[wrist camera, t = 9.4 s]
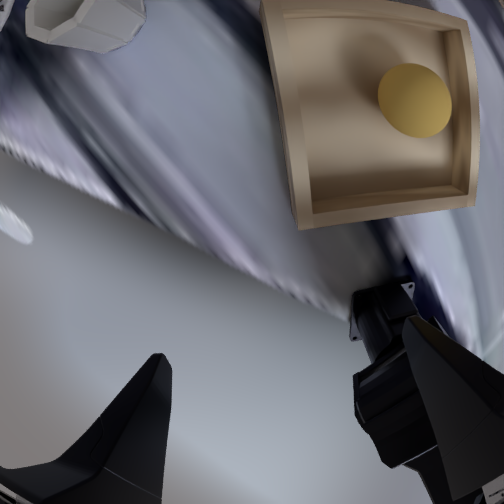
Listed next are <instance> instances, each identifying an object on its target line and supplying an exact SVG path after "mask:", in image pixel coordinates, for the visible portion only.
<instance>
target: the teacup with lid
mask: <svg viewBox="0 0 504 504" xmlns="http://www.w3.org/2000/svg"><path fill="white" fill-rule="evenodd" d="M498 1H499V2H500V4H501V6H502V8H503V9H504V0H498Z"/></svg>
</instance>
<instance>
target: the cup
mask: <svg viewBox="0 0 504 504" xmlns="http://www.w3.org/2000/svg"><path fill="white" fill-rule="evenodd" d="M27 7H29V8H27V9H26V10H25V21H26V34H27V36H28V37H30V38H33V39H36V40H38V41H41V42H43V43H46V44H53V45H60V46H66V47H72V48H78V49H83V50H88V51H93V52H97V53H102V54H103V53H104V54H105V53H108V52H110V51H113V50H116V49H118V48H121V47H122V46H125V45H127V44H128V42H131V41H132V39H133V38H134V37H135V36H136V34H137V33H138V32H139V30H140V29H141V27H142V25H143V24H144V22H145V21H146V20H145V19H146V7H145V4H144V0H30V2H29V3H28V5H27Z"/></svg>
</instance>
